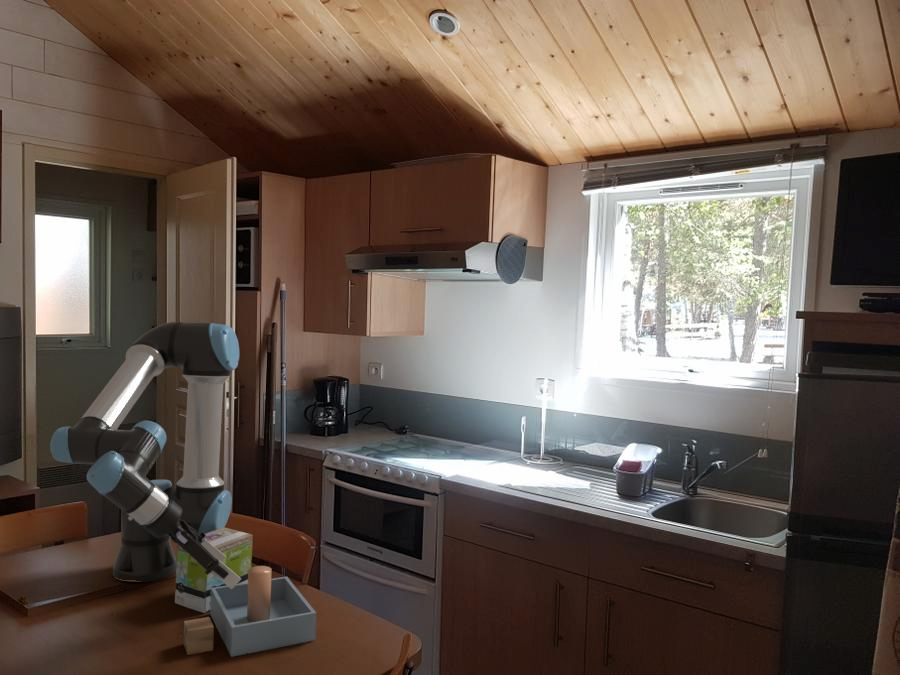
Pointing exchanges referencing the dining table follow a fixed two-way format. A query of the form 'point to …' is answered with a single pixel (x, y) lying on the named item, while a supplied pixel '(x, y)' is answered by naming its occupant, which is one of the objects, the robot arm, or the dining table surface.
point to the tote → (284, 627)
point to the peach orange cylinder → (259, 593)
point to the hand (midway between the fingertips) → (228, 572)
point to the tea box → (197, 584)
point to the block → (198, 635)
